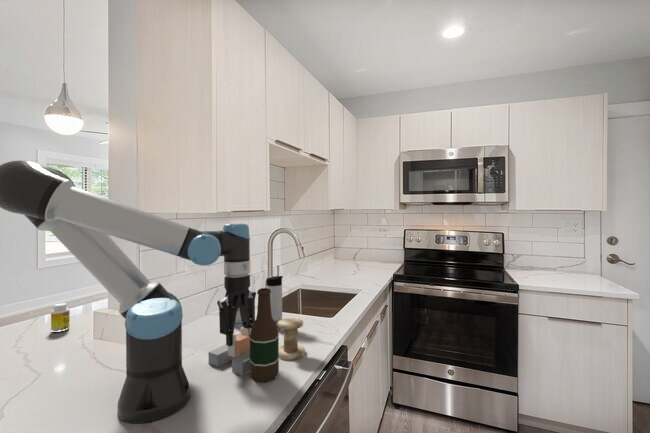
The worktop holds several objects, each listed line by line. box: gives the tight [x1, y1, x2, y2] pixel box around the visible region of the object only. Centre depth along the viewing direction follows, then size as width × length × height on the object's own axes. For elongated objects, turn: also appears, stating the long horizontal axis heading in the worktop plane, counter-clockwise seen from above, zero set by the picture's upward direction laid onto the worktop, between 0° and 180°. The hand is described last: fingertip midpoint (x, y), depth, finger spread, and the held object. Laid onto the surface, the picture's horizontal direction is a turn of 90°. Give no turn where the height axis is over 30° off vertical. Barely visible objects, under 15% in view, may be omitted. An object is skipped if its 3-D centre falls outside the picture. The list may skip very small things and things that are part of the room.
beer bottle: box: [249, 287, 280, 384], centre depth 89 cm, size 8×8×24 cm
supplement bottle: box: [50, 302, 70, 331], centre depth 125 cm, size 6×6×10 cm
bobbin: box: [278, 317, 306, 361], centre depth 103 cm, size 9×9×10 cm
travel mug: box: [265, 275, 284, 329], centre depth 129 cm, size 6×7×20 cm
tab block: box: [236, 333, 250, 357], centre depth 97 cm, size 4×4×5 cm
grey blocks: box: [208, 343, 250, 376], centre depth 97 cm, size 10×14×4 cm
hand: (238, 352), depth 98 cm, fingers closed on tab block, 4 cm apart
